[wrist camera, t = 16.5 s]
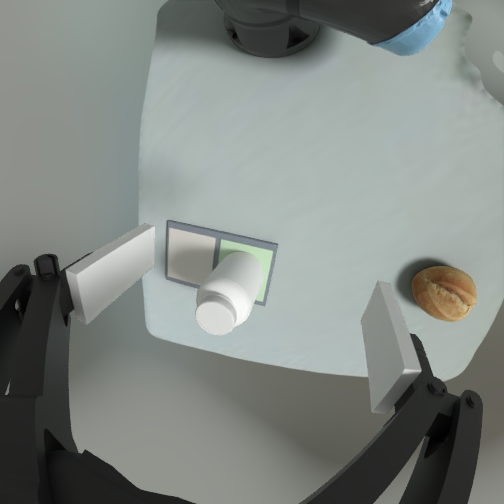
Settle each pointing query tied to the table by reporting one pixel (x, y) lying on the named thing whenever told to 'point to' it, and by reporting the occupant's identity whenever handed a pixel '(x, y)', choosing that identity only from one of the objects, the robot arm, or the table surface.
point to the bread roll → (444, 292)
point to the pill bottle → (229, 293)
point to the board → (212, 254)
